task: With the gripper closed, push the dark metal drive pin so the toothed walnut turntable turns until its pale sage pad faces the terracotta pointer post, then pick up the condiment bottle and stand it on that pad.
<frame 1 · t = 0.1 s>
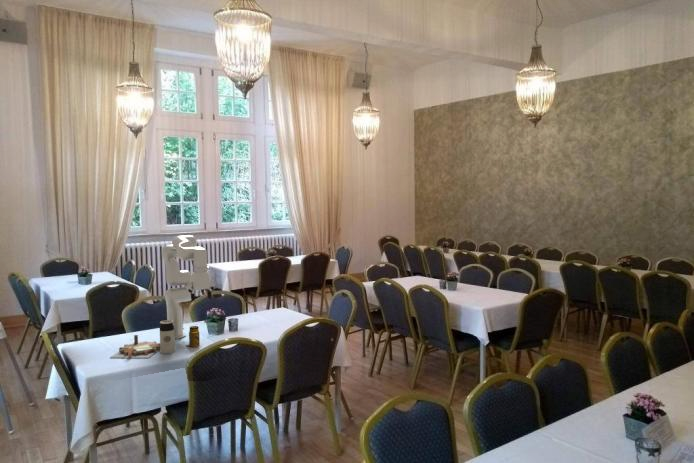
hand: (201, 299, 314), 31 cm above the table, tool pointing down, fingers open, 9 cm apart
turntable base: (140, 350, 320), on the table
condiment: (193, 346, 329), on the table
travel mug: (167, 352, 317), on the table
turntable: (140, 343, 320), point 4 cm above the table, hinge at 40.0°
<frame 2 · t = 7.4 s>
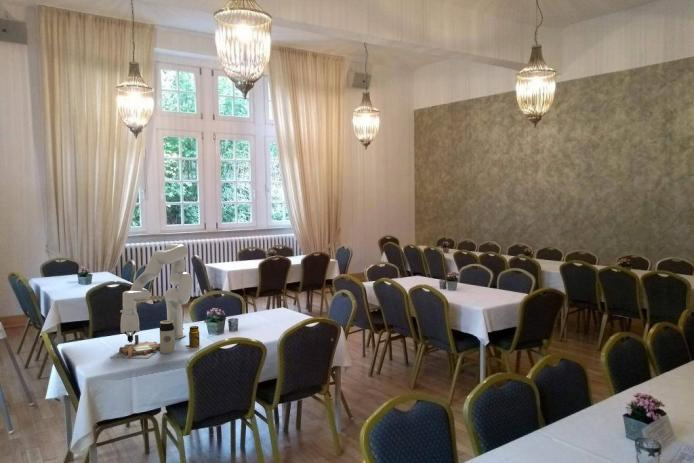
hand: (130, 342, 326), 4 cm above the table, tool pointing down, fingers closed
turntable: (140, 343, 320), point 4 cm above the table, hinge at 37.3°, touching gripper
everything else where it was.
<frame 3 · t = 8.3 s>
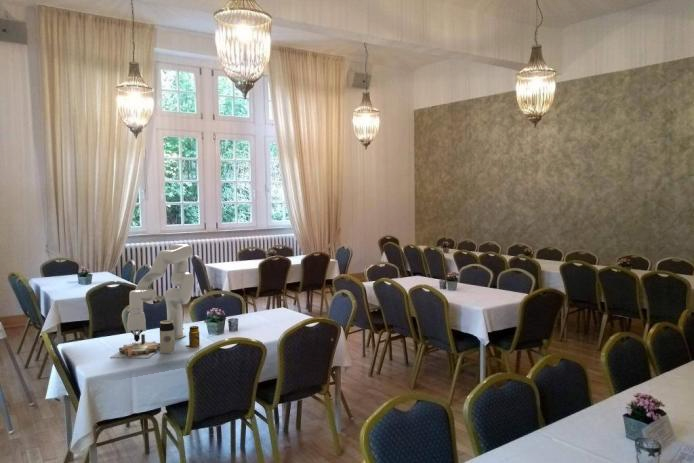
hand: (136, 341, 327), 4 cm above the table, tool pointing down, fingers closed
turntable: (140, 343, 320), point 4 cm above the table, hinge at 12.9°, touching gripper
everything else where it was.
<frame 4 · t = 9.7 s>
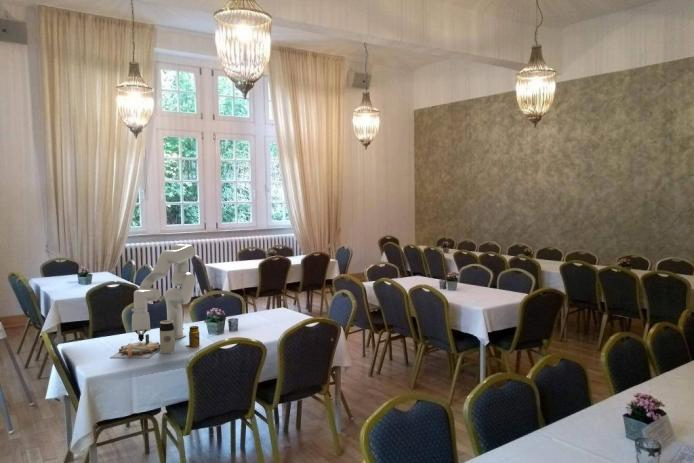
hand: (141, 340, 327), 4 cm above the table, tool pointing down, fingers closed
turntable: (140, 343, 320), point 4 cm above the table, hinge at -4.1°, touching gripper
everything else where it was.
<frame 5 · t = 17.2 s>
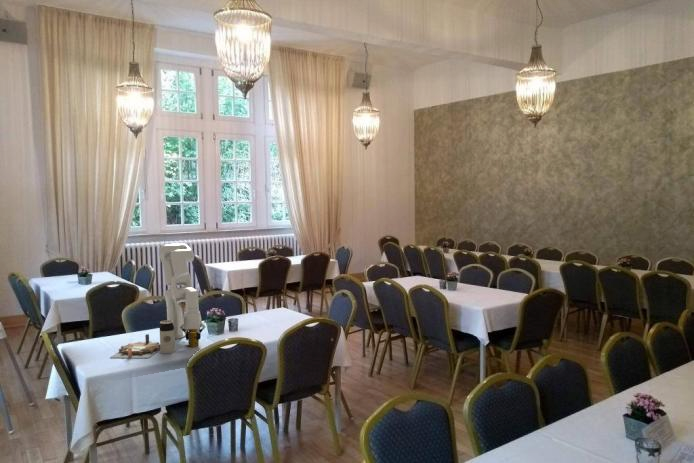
hand: (193, 339, 328), 4 cm above the table, tool pointing down, fingers closed on condiment, 6 cm apart
condiment: (192, 346, 329), on the table, touching gripper
turntable: (140, 343, 320), point 4 cm above the table, hinge at -4.1°
everything else where it was.
when the fingers open (8 cm above the table, at t = 28.7 s): condiment stays where it is, resting on turntable.
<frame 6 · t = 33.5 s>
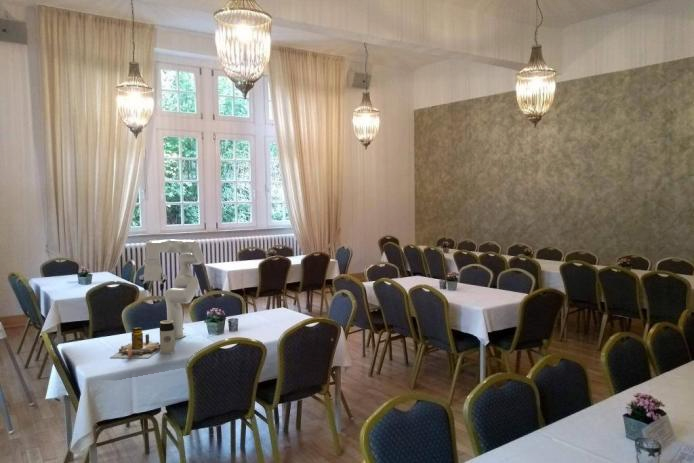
hand: (153, 290, 328), 34 cm above the table, tool pointing down, fingers open, 9 cm apart
condiment: (136, 348, 316), point 2 cm above the table, touching turntable
turntable: (140, 343, 320), point 4 cm above the table, hinge at -4.1°, touching condiment
everything else where it was.
at the end: turntable at -4° (first picture: +40°); condiment 0.8 cm from the target spot on the turntable, point 2.5 cm above the turntable's base; condiment tilted 0° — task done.
